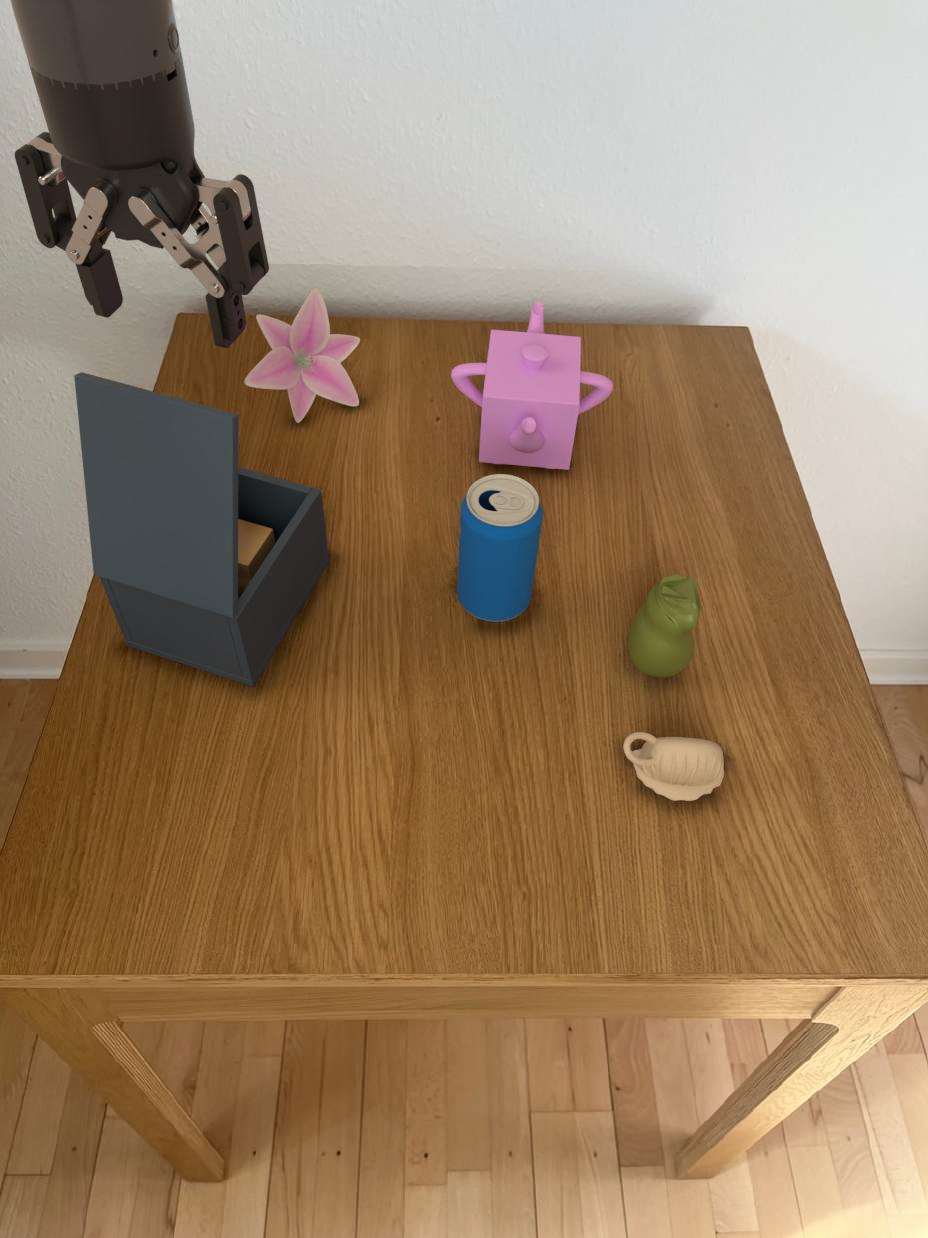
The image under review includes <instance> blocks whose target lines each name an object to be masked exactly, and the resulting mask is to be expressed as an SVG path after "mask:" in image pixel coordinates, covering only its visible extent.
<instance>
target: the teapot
mask: <svg viewBox="0 0 928 1238" xmlns="http://www.w3.org/2000/svg"><path fill="white" fill-rule="evenodd" d="M544 320H545V308H544V305H543V303H542V302H540V301H536V302H534V303H533V304H532V307H531V311H530V318H529V323H528V326H527V330H526V331H514V330H502V329H491V330H490V335H489V342H488V343H489V344H488V352H487V359H486V362H467V363H462V364H461V363H460V364H458V365H456V366H455V367H453V368H452V370H451V372H450V377H451V380H452V382H453V384H454V385H455V387H456V388H457V389H458V390H459V392H461V393H462V394H463V395H464V396H465V397H466V398H467V399H469V400H470V401H472V402H473V403H474V404H476V405H477V406H478V407H480V408H481V419H480V433H479V434H480V436H479V450H478V451H479V452H478V462H479V463H485V464H486V463H488V464H494V465H509V466H521V467H531V468H532V467H534V468H543V469H548V470H556V469H557V470H567V471H568V470H570V467H571V460H572V455H573V448H574V443H575V442H574V441H575V436H576V429H577V425H578V424H577V423H578V418H579V417H578V416H579V415H580V414H583V413H584V412H585V413H586V412H587V411H589V410H592V408H595V407H597V406H598V405H600V404H602V403H603V402H604V401H606V399H608V397H610V395H611V394H612V392H613V390H614V383H613V381H612V380H611V379H610V378H609V377H607V376H605V375H602V374H599V373H594V372H592V371H591V372H590V371H584V370H581V363H582V362H581V361H582V360H581V359H582V356H581V355H582V354H581V352H582V337H581V336H572V335H562V334H552V333H551V334H549V333H545V321H544ZM472 376H484V384H483V390H482V392H481V391H480V390H479V389H478V388H477V387H476V385H474V383H473V382H472V380H471V379H470V378H469V377H472ZM581 384H582V385H588V386H592V387H594V388H593V390H592V391H591V392H589V394H587V395H586V396H584V397H583V398H582V399H581Z"/></svg>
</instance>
